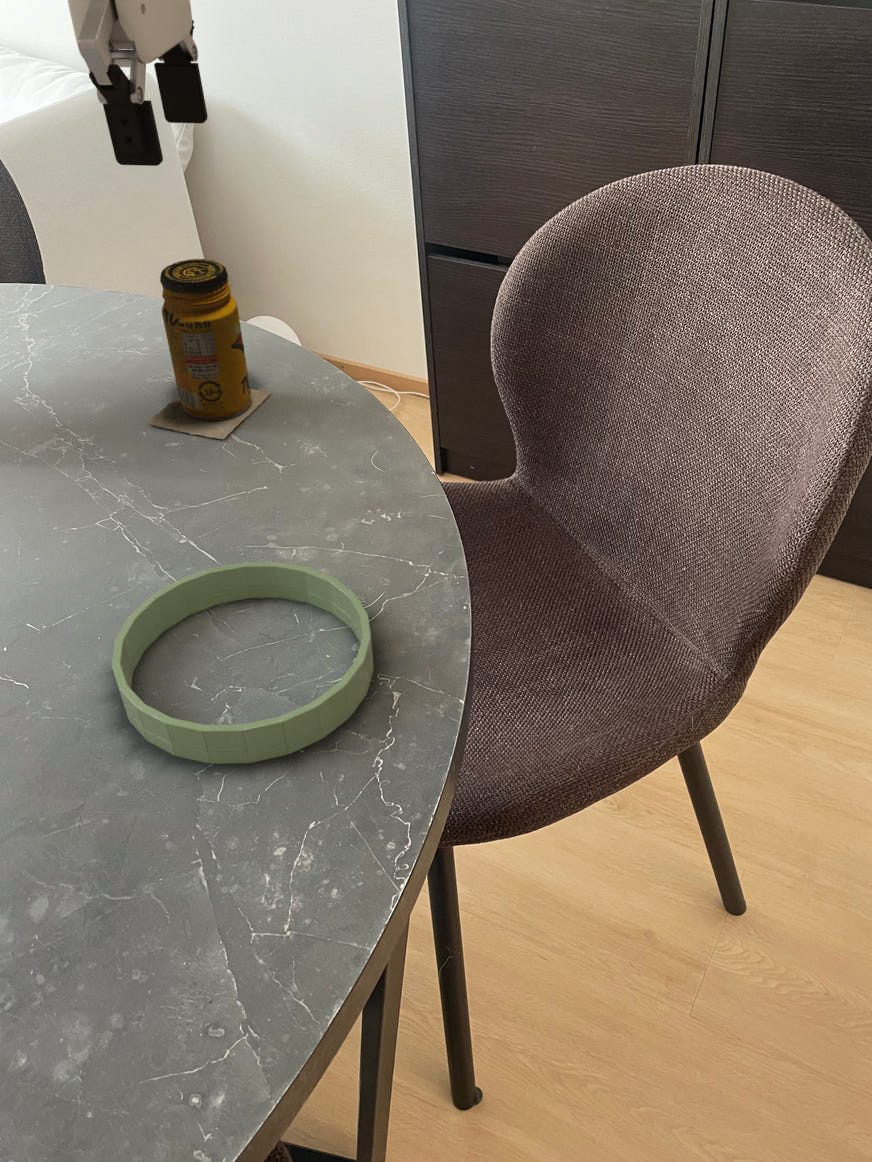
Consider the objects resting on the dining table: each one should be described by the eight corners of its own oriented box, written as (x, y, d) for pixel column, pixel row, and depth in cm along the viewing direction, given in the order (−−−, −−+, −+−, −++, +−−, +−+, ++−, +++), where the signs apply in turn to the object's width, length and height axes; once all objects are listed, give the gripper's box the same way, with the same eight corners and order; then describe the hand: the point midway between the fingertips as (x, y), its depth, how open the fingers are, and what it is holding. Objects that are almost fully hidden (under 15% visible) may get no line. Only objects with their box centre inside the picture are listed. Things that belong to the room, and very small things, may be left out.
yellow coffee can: (271, 394, 92) (252, 259, 84) (223, 441, 86) (197, 301, 78) (198, 381, 94) (173, 248, 86) (147, 426, 88) (114, 288, 80)
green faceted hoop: (87, 767, 59) (69, 718, 57) (176, 599, 71) (165, 552, 68) (345, 792, 58) (338, 743, 55) (394, 617, 69) (391, 570, 67)
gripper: (100, -166, 71) (157, 107, 82) (-20, -137, 58) (66, 181, 70) (207, -167, 70) (249, 108, 82) (108, -138, 57) (174, 184, 69)
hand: (164, 141), depth 76 cm, fingers open, 9 cm apart
